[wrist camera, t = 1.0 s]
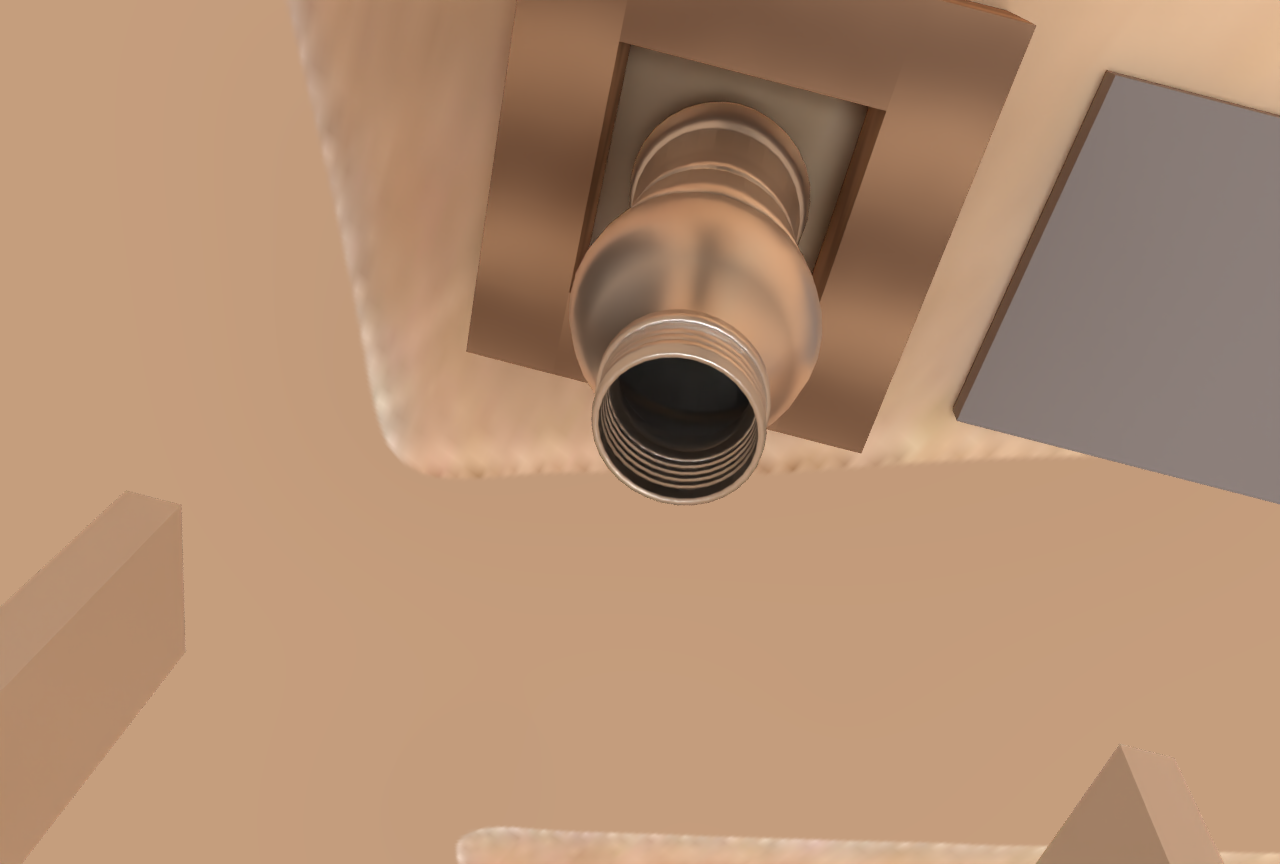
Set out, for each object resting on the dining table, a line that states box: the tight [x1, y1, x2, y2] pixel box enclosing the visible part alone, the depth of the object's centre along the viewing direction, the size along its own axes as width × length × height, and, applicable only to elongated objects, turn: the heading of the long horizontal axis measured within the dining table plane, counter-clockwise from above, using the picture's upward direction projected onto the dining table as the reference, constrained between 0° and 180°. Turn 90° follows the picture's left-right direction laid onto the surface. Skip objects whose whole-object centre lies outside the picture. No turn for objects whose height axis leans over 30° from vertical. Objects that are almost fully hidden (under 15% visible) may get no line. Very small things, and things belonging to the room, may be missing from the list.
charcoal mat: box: [953, 71, 1280, 504], centre depth 36 cm, size 14×14×1 cm
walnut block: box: [466, 0, 1036, 453], centre depth 35 cm, size 16×16×4 cm
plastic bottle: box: [569, 102, 822, 505], centre depth 28 cm, size 6×7×20 cm
